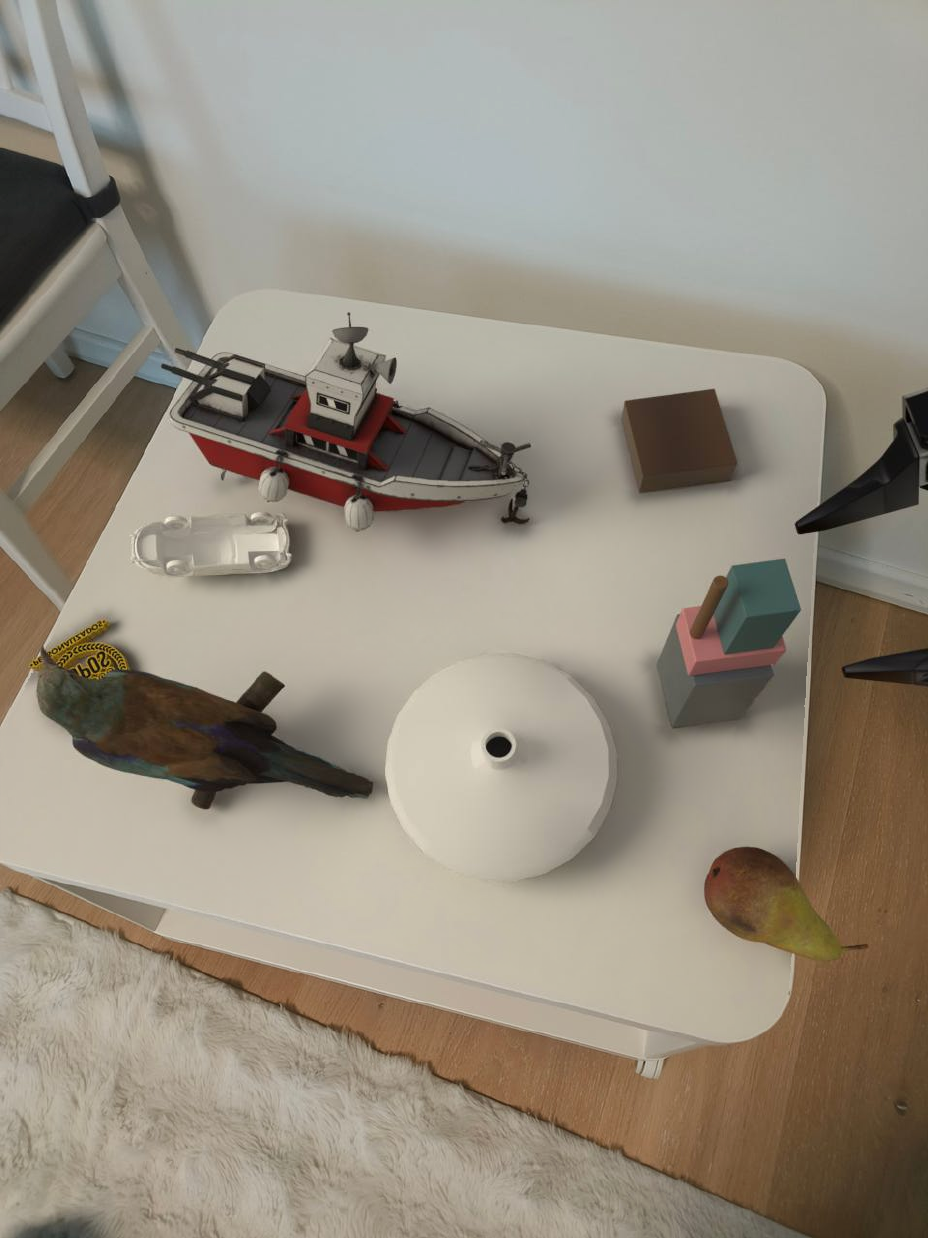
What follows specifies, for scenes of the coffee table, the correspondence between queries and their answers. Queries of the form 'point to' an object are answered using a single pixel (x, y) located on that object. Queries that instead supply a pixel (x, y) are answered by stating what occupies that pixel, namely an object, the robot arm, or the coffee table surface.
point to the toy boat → (339, 435)
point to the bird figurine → (183, 733)
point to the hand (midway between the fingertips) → (818, 597)
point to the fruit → (768, 905)
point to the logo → (86, 653)
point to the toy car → (213, 545)
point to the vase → (501, 767)
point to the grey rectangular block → (706, 688)
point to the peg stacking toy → (740, 619)
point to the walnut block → (678, 441)
